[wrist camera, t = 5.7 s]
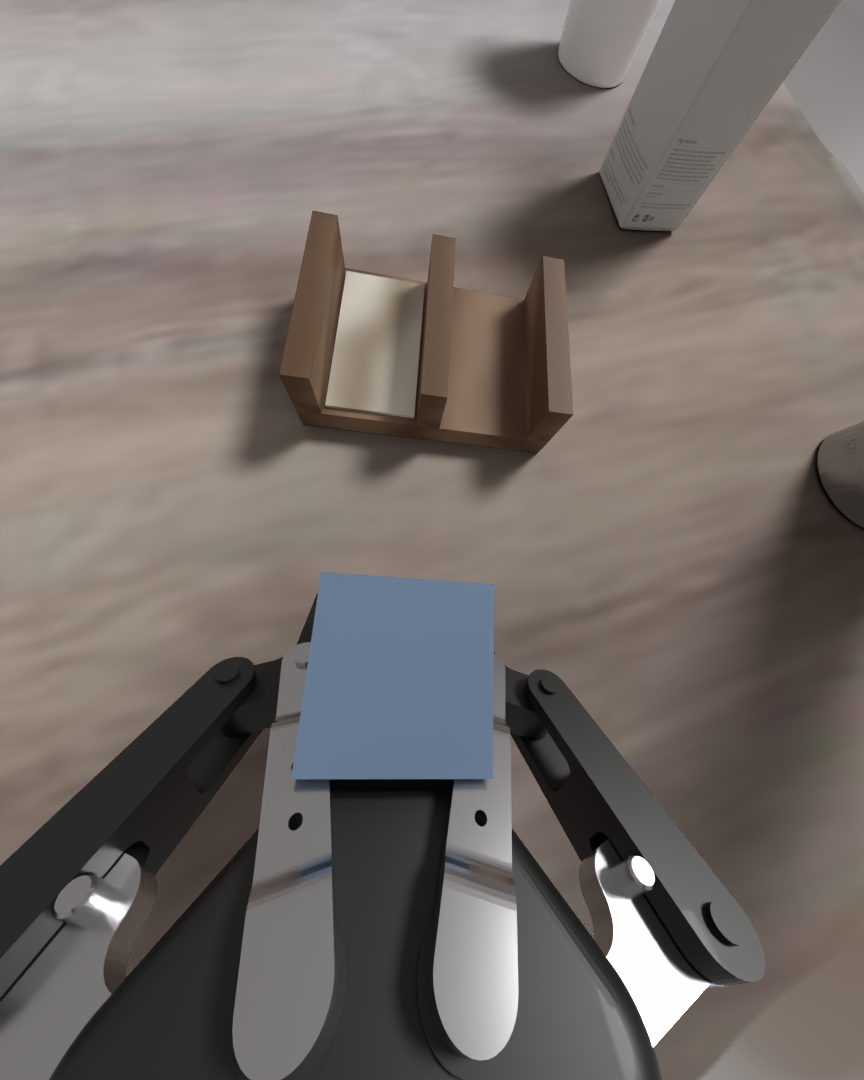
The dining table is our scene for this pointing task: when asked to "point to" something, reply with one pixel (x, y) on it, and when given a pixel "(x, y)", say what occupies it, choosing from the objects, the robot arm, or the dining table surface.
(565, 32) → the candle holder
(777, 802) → the dining table surface
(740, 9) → the skincare box
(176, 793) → the robot arm
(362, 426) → the rack
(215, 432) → the dining table surface
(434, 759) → the block
